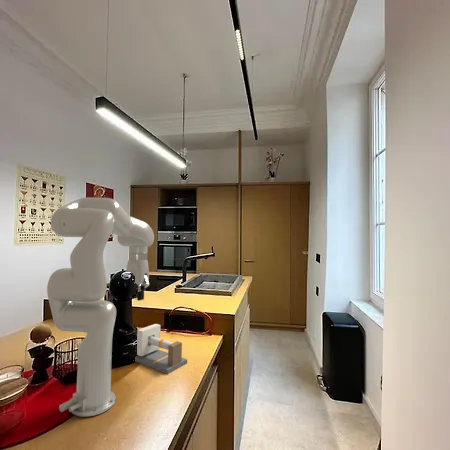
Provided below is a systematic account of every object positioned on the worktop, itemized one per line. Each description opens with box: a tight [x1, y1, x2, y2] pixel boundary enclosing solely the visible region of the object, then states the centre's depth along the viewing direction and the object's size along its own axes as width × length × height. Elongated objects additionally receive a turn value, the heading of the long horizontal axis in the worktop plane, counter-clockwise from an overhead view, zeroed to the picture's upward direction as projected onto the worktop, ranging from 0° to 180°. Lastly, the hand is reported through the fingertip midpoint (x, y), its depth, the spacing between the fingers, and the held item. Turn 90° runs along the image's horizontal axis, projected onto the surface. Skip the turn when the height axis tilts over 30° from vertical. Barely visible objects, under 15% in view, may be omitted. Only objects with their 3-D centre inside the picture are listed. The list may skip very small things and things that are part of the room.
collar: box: [136, 323, 161, 356], centre depth 122 cm, size 10×3×10 cm, turn 147°
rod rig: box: [134, 336, 188, 375], centre depth 119 cm, size 11×22×9 cm, turn 57°
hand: (137, 298), depth 126 cm, fingers open, 3 cm apart
